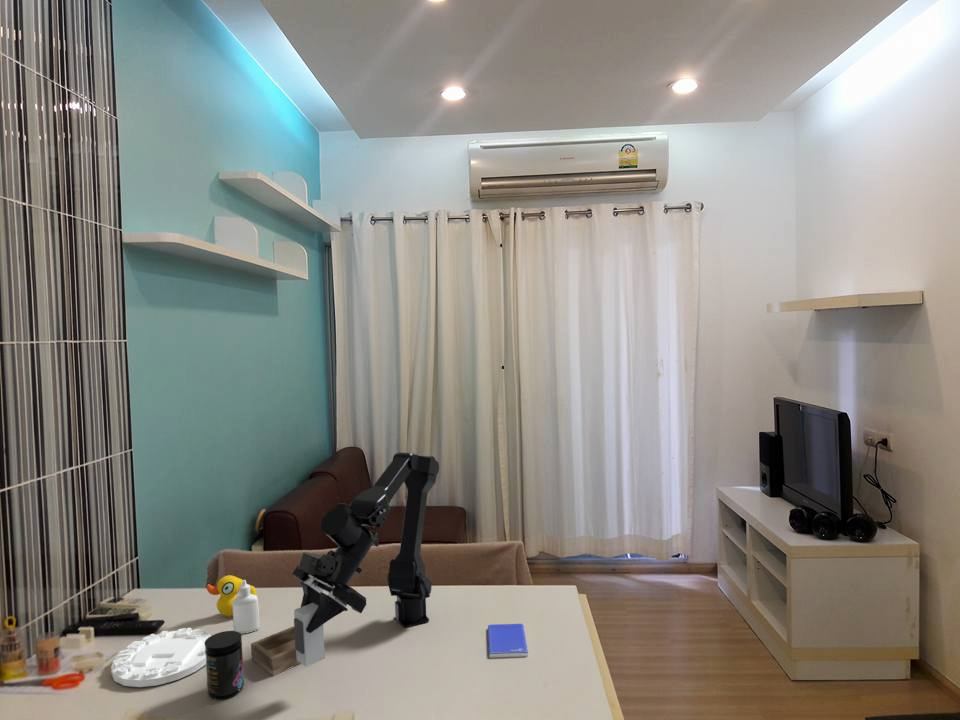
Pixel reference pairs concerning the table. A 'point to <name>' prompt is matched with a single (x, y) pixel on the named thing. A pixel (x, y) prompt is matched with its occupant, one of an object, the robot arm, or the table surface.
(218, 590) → the duckling
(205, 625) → the table surface
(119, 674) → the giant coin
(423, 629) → the table surface
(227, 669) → the supplement container
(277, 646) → the wooden tray
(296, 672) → the table surface
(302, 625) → the block
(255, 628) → the eye dropper bottle
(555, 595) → the table surface
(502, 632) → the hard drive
